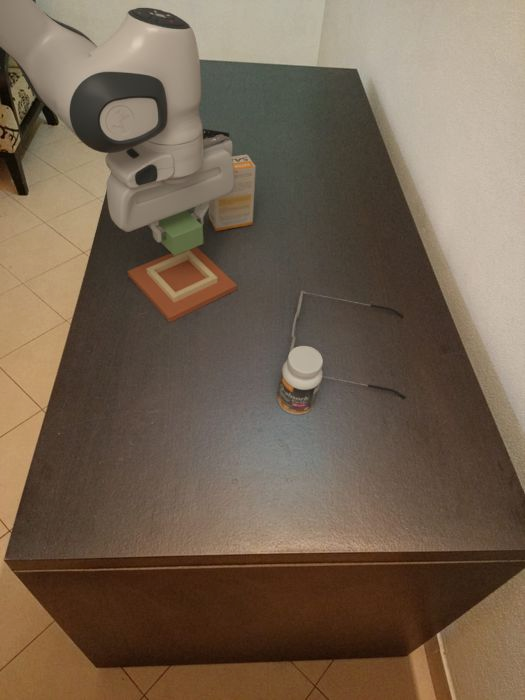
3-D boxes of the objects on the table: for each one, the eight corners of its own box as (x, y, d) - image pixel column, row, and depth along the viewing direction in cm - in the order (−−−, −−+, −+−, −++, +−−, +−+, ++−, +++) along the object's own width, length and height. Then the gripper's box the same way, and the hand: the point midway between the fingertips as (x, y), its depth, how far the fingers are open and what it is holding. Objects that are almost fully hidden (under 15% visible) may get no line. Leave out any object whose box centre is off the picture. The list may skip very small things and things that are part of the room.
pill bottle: (271, 409, 69) (278, 368, 61) (283, 379, 72) (290, 337, 64) (309, 421, 68) (320, 381, 60) (318, 390, 71) (330, 349, 64)
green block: (174, 256, 75) (172, 237, 72) (156, 237, 77) (153, 219, 74) (203, 243, 77) (202, 225, 74) (185, 226, 80) (183, 208, 77)
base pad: (169, 322, 78) (168, 312, 76) (128, 276, 84) (126, 265, 83) (237, 289, 84) (237, 279, 82) (193, 248, 91) (193, 238, 89)
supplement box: (245, 212, 99) (248, 153, 89) (253, 225, 97) (256, 166, 86) (207, 218, 97) (206, 158, 87) (214, 232, 94) (214, 171, 84)
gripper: (219, 122, 71) (219, 202, 82) (93, 159, 62) (112, 243, 73) (244, 140, 68) (241, 220, 79) (116, 181, 59) (132, 265, 70)
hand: (178, 232), depth 76 cm, fingers closed on green block, 5 cm apart
